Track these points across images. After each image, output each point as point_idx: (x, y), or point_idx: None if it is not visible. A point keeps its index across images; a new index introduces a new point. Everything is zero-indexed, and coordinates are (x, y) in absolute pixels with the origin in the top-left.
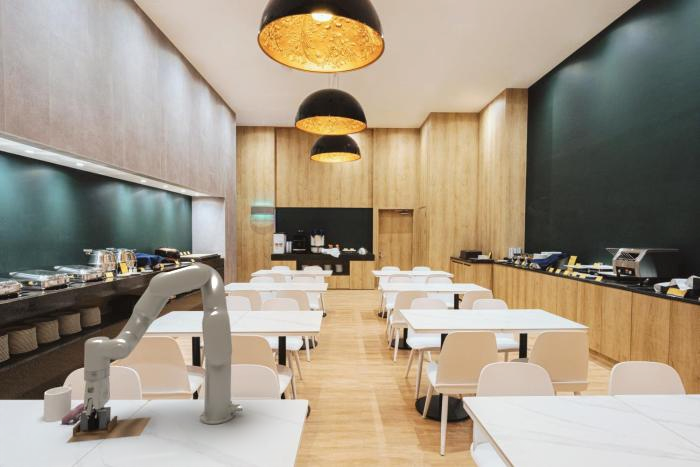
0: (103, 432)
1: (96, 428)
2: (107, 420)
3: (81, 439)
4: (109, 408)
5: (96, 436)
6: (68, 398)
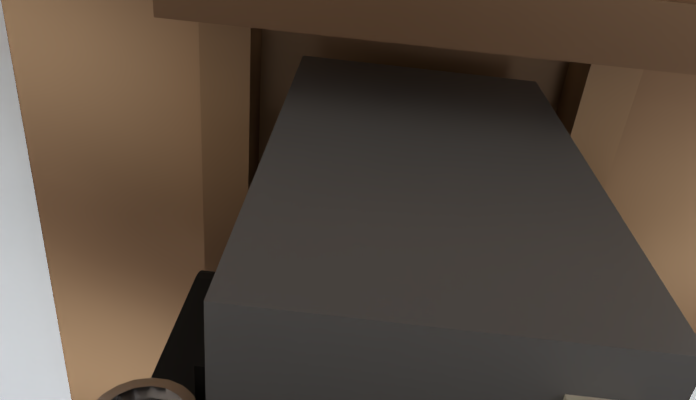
0: (626, 98)
1: None
2: (502, 137)
3: None
4: (363, 309)
5: (647, 180)
6: None
